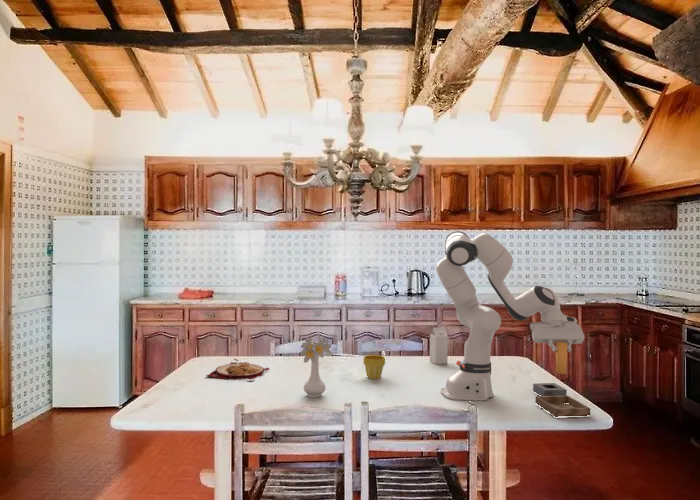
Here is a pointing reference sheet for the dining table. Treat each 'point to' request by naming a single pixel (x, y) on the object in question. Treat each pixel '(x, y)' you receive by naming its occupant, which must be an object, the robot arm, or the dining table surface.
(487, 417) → the dining table surface
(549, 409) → the walnut tray
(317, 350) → the flower vase
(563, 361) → the pin
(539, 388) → the bracket
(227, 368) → the plate with food
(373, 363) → the plant pot
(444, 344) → the milk carton
